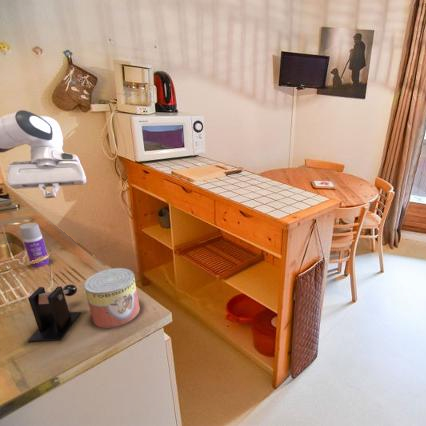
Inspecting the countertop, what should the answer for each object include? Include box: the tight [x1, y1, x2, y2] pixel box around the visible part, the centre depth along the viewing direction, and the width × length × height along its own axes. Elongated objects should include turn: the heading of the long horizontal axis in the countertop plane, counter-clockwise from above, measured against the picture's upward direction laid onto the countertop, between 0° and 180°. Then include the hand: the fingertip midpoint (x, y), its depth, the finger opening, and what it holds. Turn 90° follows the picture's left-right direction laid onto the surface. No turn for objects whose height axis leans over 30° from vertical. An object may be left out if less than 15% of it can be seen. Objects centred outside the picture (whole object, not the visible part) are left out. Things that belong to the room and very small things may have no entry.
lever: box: [38, 283, 78, 304], centre depth 83 cm, size 12×3×3 cm, turn 9°
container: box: [19, 222, 51, 268], centre depth 104 cm, size 5×5×15 cm
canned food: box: [83, 267, 141, 329], centre depth 86 cm, size 11×11×12 cm
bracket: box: [27, 285, 82, 343], centre depth 80 cm, size 10×7×12 cm
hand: (49, 197), depth 105 cm, fingers closed
